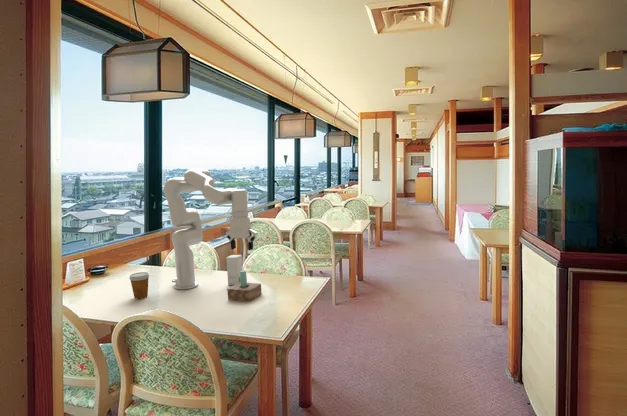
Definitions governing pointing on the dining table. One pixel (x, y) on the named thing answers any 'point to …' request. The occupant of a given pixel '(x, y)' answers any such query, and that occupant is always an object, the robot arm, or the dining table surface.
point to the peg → (243, 279)
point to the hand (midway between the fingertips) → (242, 249)
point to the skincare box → (234, 269)
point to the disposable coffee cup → (139, 284)
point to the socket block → (244, 292)
